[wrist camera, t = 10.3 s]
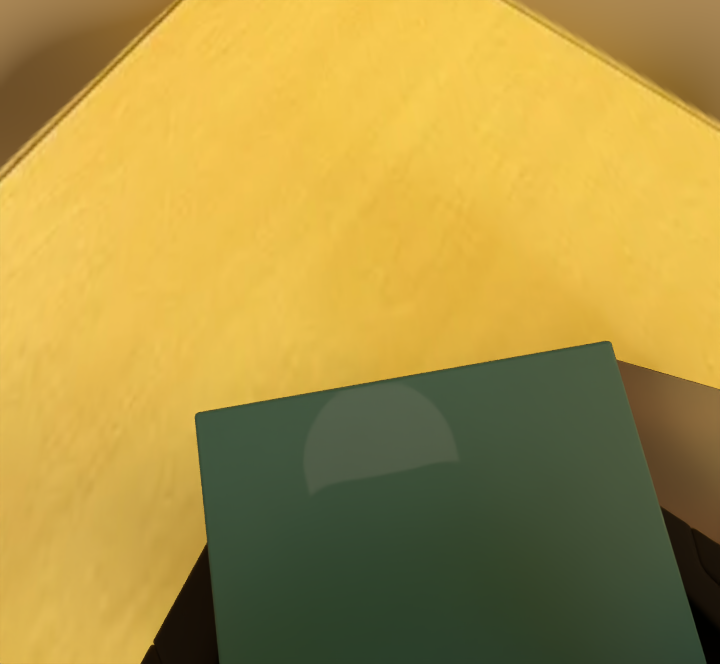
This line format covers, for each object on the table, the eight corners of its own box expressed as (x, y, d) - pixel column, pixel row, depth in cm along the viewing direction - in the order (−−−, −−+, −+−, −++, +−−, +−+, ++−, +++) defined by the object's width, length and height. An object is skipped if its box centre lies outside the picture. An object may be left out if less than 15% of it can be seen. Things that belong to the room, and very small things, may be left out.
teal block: (484, 563, 13) (758, 831, 5) (310, 601, 13) (248, 974, 4) (446, 389, 15) (611, 340, 6) (285, 418, 14) (192, 413, 5)
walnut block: (683, 565, 21) (750, 593, 17) (524, 518, 21) (560, 538, 18) (701, 404, 23) (766, 402, 19) (554, 362, 23) (592, 352, 19)
